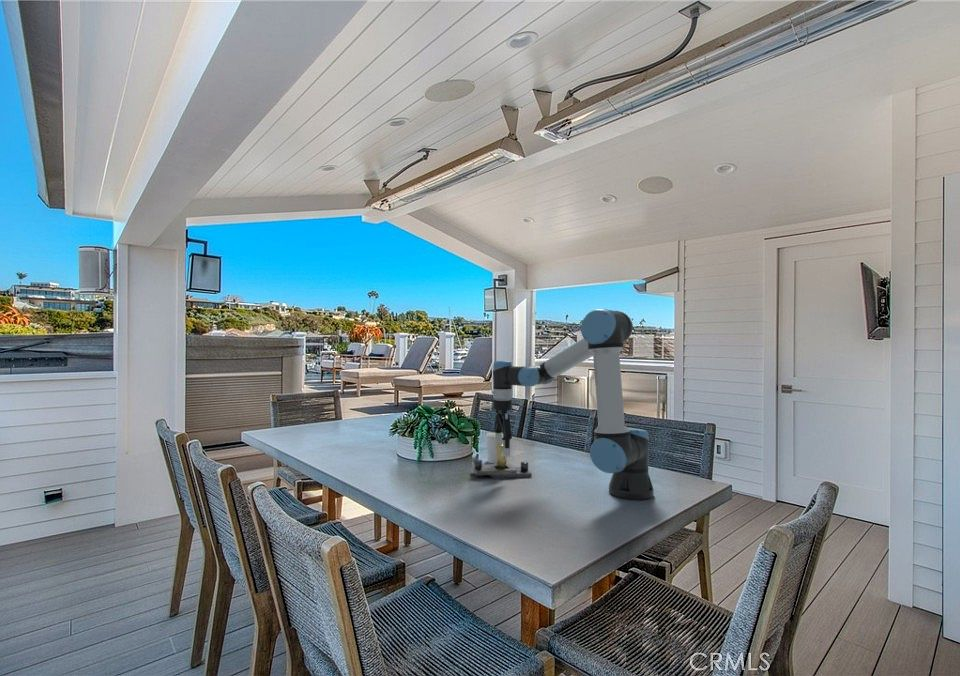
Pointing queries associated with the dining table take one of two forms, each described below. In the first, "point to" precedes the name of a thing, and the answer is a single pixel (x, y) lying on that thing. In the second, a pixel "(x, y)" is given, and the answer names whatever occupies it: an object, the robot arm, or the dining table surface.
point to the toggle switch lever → (501, 458)
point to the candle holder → (492, 448)
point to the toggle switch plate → (501, 470)
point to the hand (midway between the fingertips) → (502, 452)
